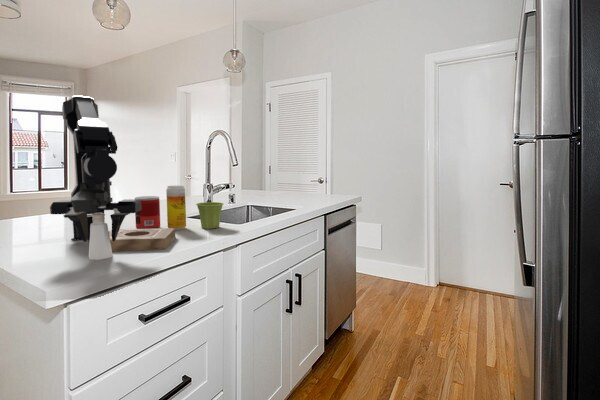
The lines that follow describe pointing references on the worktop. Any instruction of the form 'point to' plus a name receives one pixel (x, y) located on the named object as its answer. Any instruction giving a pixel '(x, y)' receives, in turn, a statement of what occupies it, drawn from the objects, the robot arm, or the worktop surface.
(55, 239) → the worktop surface
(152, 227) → the canned food
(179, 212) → the yellow canister
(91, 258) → the salt shaker
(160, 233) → the board
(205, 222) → the plant pot
